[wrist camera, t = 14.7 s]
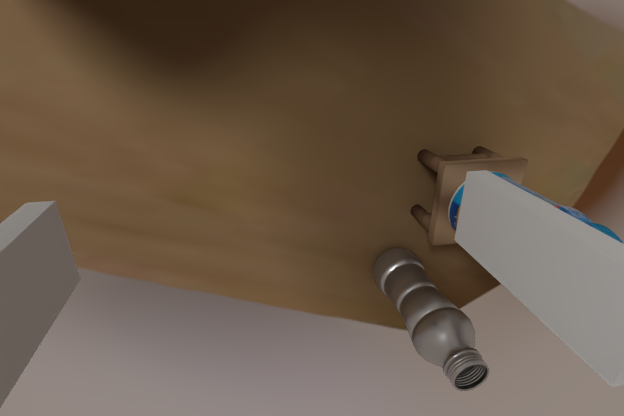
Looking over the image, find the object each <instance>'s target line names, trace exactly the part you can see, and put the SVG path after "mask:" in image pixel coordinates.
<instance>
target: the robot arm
mask: <svg viewBox="0 0 624 416" xmlns="http://www.w3.org/2000/svg"><path fill="white" fill-rule="evenodd" d="M454 240H455V241H456V242H457V243H458V244H459V245H460V246H461V247H462V248H463V249H465V250H466V251H467V252H468V253H469V254H470V255H471V256H472V257H473V258H474V259H475V260H476V261H477V262H478V263H480V264H481V265H482V266H483V267H484V268H485V269H486V270H487V271H488V272H489V273H490V274H491V275H492V276H493V277H495V278H496V279H497V280H498V281H499V282H500V283H501V284H502V285H503V286H504V287H505V288H506V289H507V290H509V291H510V292H511V293H512V294H513V295H514V296H515V297H516V298H517V299H518V300H519V301H520V302H521V303H522V304H523V305H525V306H526V307H527V308H528V309H529V310H530V311H531V312H532V313H533V314H534V315H535V316H536V317H537V318H538V319H540V320H541V321H542V322H543V323H544V324H545V325H546V326H547V327H548V328H549V329H551V331H552V332H553V333H555V334H556V335H557V336H558V337H559V338H560V339H561V340H562V341H563V342H564V343H565V344H567V346H568V347H570V348H571V349H572V350H573V351H574V352H575V353H576V354H577V355H578V356H579V357H580V358H581V359H582V360H584V361H585V362H586V363H587V364H588V365H589V366H590V367H591V368H592V369H593V370H594V371H595V372H596V373H597V374H599V375H600V376H601V377H602V378H603V379H604V380H605V381H606V382H607V383H608V384H609V385H610V386H611V387H614V386H620V385H624V244H623V243H621V242H619V241H617V240H615V239H614V238H612V237H610V236H608V235H606V234H604V233H602V232H601V231H599V230H597V229H595V228H593V227H591V226H589V225H588V224H586V223H584V222H582V221H580V220H578V219H576V218H575V217H573V216H571V215H569V214H567V213H565V212H563V211H562V210H560V209H558V208H556V207H554V206H552V205H550V204H549V203H547V202H545V201H543V200H541V199H539V198H537V197H536V196H534V195H532V194H530V193H528V192H526V191H524V190H523V189H521V188H519V187H517V186H515V185H513V184H511V183H510V182H508V181H506V180H504V179H502V178H500V177H498V176H497V175H495V174H493V173H491V172H489V171H487V170H483V171H468V172H467V174H466V180H465V185H464V190H463V196H462V201H461V206H460V212H459V217H458V222H457V228H456V233H455V239H454ZM79 281H80V276H79V273H78V269H77V266H76V263H75V260H74V257H73V254H72V251H71V248H70V245H69V242H68V239H67V236H66V233H65V229H64V226H63V223H62V220H61V217H60V214H59V211H58V208H57V205H56V202H55V201H46V202H32V203H25V204H24V205H23V206H21V207H20V208H19V209H18V210H17V211H15V212H14V213H13V214H12V215H10V216H9V217H8V218H7V219H6V220H4V221H3V222H2V223H1V224H0V407H1V406H2V404H3V402H4V401H5V399H6V398H7V396H8V395H9V393H10V391H11V390H12V388H13V386H14V385H15V383H16V382H17V380H18V378H19V377H20V375H21V374H22V372H23V371H24V369H25V367H26V366H27V364H28V363H29V361H30V359H31V358H32V356H33V354H34V353H35V351H36V350H37V348H38V346H39V344H40V343H41V342H42V340H43V338H44V337H45V335H46V334H47V332H48V330H49V329H50V327H51V326H52V324H53V322H54V321H55V319H56V318H57V316H58V314H59V313H60V311H61V310H62V308H63V306H64V305H65V303H66V302H67V300H68V298H69V296H70V295H71V293H72V292H73V290H74V289H75V287H76V286H77V284H78V282H79Z"/></svg>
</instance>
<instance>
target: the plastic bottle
mask: <svg viewBox="0 0 624 416" xmlns="http://www.w3.org/2000/svg"><path fill="white" fill-rule="evenodd" d="M373 276H374V279H375V282H376V284H377V286H378V287H379V288H380V289H381V290H382V292H383V293H384V294H386V295H387V296H388V297H389V299H390V300H391V301H392V302H393V304H394V305H395V306H396V308H397V309H398V311H399V313H400V314H401V317H402V319H403V321H404V323H405V324H406V327H407V329H408V332H409V334H410V337H411V340H412V342H413V345H414V347H415V349H416V351H417V352H418V353H419V355H421V356H422V357H423V358H424V359H425V360H427V361H428V362H430V363H433V364H435V365H437V366H440V367H443V371H444V373H445V375H446V376H447V377H448V378H449V379H450V381H451V383H452V385H453V386H454V387H455V388H456V389H457V390H460V391H468V390H471V389H474V388H476V387H478V386H479V385H481V384H482V383H483V382H484V381H485V380H486V379H487V377H488V375H489V368H488V366H487V365H486V363H485V362H484V361H483V359H482V356H481V355H480V353H479V352H478V351H477V350H476V349H474V346H475V332H474V328H473V325H472V323H471V321H470V319H469V318H468V317H467V316H466V315H465V314H464V313H463V312H462V311H461V310H460V309H458V308H457V307H456V306H455V305H454V304H453V303H451V302H450V301H449V300H448V299H447V298H446V297H445V296H444V295H443V294H442V293H441V292H440V291H439V290H438V289H437V287H436V286H435V285H434V284H433V283H432V281H431V279H430V278H429V276H428V275H427V273H426V272H425V269H424V267H423V265H422V263H421V261H420V260H419V258H418V257H417V256H416V255H415V254H413V253H412V252H411V251H409V250H407V249H404V248H393V249H389V250H387V251H385V252H383V253H382V254H381V255H380V256H379V257H378V258H377V260H376V262H375V264H374V267H373Z"/></svg>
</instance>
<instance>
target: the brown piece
mask: <svg viewBox="0 0 624 416" xmlns="http://www.w3.org/2000/svg"><path fill="white" fill-rule="evenodd" d="M418 160H419V161H420V162H422V163H423V164H425V165H426V166H428V167H429V168H431V169H432V170H433V171H435V172H436V173H438V176H437V182H436V189H435V195H434V202H433V208H432V213H428V212H427V211H425V210H424V209H423V208H422V207H421V206H420V205H415V206H413V207H412V208H411V214H412V215H413V216H414V217H415V218H416V219H417V220H418V221H419V222H420V223H421V224H422V225H423V226H424V227H425V228H426V229H427V230H428V231H429V235H428V242H429V243H430V244H431V245H432V246H437V245H447V244H456V243H457V242H456V241H455V240H454V239H455V233H456V231H455V230H454V229H453V227H452V226H451V224H450V221H449V217H448V208H449V204H450V201H451V198H452V196H453V194H454V193H455V191H456V190H457V188H458V187H459V186H460V185H461V184H462V183H463V182H464V181H465V180H466V174H467V172H468V171H483V170H487V171H493V172H499V173H502V174H504V175H506V176H508V177H510V178H511V179H513V180H514V181H516V182H517V183H519V184H521V185H522V181H523V177H524V173H525V169H526V166H527V162H528V160H527V159H525V158H523V157H506V158H505V157H503V156H501V155H499V154H496V153H494V152H492V151H490V150H488V149H485V148H483V147H481V146H479V147H476V148H475V149H474V150H473V153H472V154H465V155H449V156H436V155H434V154H433V153H431V152H429V151H428V150H421V151H420V152H419V153H418Z"/></svg>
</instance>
